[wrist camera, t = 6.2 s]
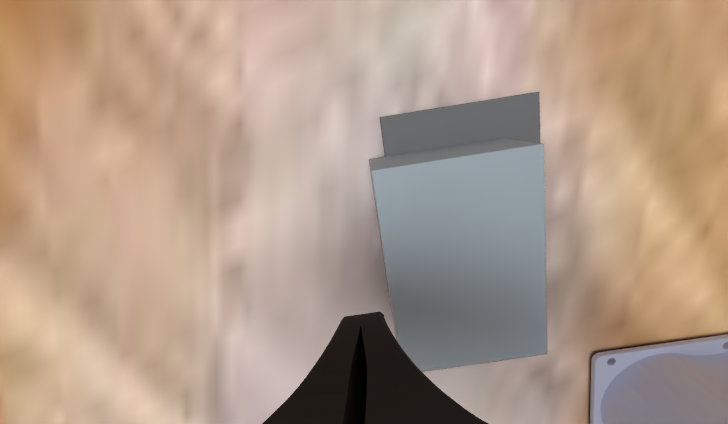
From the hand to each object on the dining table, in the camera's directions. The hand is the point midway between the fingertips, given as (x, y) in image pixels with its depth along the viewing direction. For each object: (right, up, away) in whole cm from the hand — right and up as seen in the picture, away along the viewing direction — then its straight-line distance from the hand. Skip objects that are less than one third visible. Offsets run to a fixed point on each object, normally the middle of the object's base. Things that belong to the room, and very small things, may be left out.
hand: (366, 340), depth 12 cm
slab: (+1, +2, +6) cm, 6 cm away
